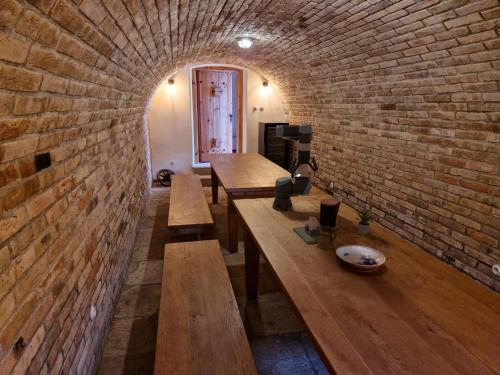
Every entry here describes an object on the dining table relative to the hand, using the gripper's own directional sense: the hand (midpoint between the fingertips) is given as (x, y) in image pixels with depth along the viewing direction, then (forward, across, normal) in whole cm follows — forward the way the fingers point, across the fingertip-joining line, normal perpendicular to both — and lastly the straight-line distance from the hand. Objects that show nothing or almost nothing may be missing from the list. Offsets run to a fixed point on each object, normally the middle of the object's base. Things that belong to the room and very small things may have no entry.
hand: (302, 182), depth 203 cm
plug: (+27, -3, -20) cm, 34 cm away
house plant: (+29, +28, -27) cm, 48 cm away
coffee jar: (+29, +12, -13) cm, 34 cm away
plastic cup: (+30, +28, +5) cm, 41 cm away
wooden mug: (+28, -2, -37) cm, 46 cm away
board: (+28, -3, -19) cm, 34 cm away
